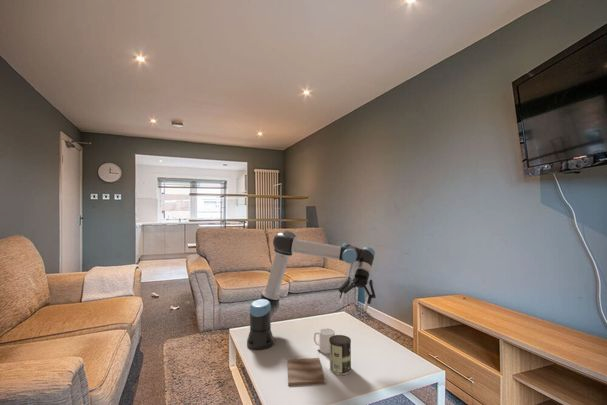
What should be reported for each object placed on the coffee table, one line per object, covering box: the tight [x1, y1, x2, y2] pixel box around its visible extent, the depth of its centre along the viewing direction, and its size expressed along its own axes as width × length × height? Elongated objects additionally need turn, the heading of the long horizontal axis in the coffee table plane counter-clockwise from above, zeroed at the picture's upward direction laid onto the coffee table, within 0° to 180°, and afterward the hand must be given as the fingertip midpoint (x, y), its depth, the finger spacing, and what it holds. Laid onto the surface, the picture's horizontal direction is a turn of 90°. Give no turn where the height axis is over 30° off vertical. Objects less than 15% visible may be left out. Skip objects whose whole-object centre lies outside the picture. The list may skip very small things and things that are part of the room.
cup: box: [313, 327, 336, 355], centre depth 159 cm, size 8×12×10 cm
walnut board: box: [286, 357, 326, 386], centre depth 137 cm, size 20×16×1 cm
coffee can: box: [329, 334, 352, 376], centre depth 139 cm, size 10×10×14 cm
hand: (352, 306), depth 150 cm, fingers open, 13 cm apart
